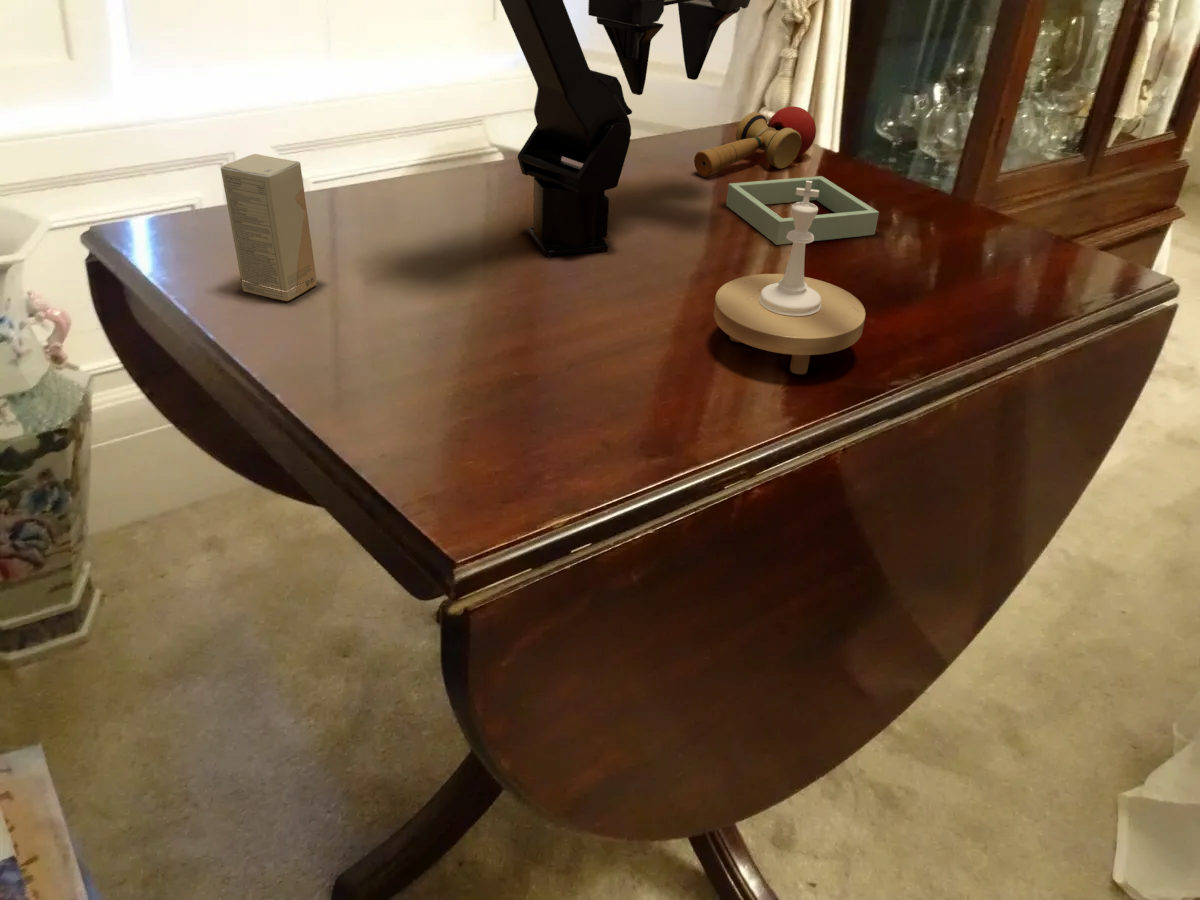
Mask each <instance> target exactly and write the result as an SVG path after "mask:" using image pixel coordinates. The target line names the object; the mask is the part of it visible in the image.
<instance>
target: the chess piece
mask: <svg viewBox="0 0 1200 900" xmlns="http://www.w3.org/2000/svg"><path fill="white" fill-rule="evenodd" d="M811 186H812V181H807V180H806V186H805V188H797V189H796V195H800V196H804V198H803V201H801V202H793V204H792V205H791V215H792V217H793V219H794V226H795V230H792V231H789V232H788V234H787V236H786V238H787V239H788V240H790V241H792V242H793V243H792V246H791V250H790V254H789V257H788V260H787V265H786V268H785V271H784V273H783V274H784V277H783V279H781V280H780V281H779V282H778V283H774V284H770V285H768V286H766V287H764V288H763V289H762V291H761V296H760V298H759V302H760V304H761V305H762V306H763V307H764V308H766V309H767V310H769V311H772V312H774V313H777V314H781V315H786V316H807V315H812V314H814V313H816V312H818V311H819V310H820V308H821V303H820V302H821V297H820V295H819V294H818V293H817V292H816V291H815V290H814V289H812V288H810V287H808V286H807V284H806V283H805V282H804V277H805V258H806V257H805V256H806V245H807V244H811V243H813V242H815V241H814V236H813V234H812V233H810V232H808V229H809V228H810V226H811V224H812V221H813V219H814V218H815V216H816V215H818V212H819V207H818V206H817V205H816V204H814V203H813V202H810V201H809V198H810V197H818V195H819V190H814V189H811Z"/></svg>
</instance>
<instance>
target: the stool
mask: <svg viewBox="0 0 1200 900" xmlns="http://www.w3.org/2000/svg"><path fill="white" fill-rule="evenodd" d="M784 274H785V273H761V274H751V275H745V276H741V277H737V278H734V279H732V280H729V281H728V282H726V283H724V284H722V286H720V287H719V289H718V290H717V291H716V293H715V296H714V297H715V298H714V306H713V319H714V322H715V324H716V325H717V326H718V328H719V329H720V330H722V331H723V333H725V334H726V335H727V336H729V339H730V341H731V342H734V343H739V344H740V343H742V344H744V345H747V346H750V347H752V348H756V349H759V350H762V351H766V352H770V353H776V354H782V355H791V358H790V363H789V371H790V372H791V373H792V374H795V375H805V374H807V373H808V370H809V364H810V359H811V356H818V355H827V354H832V353H837V352H840V351H842V350H845V349H848V348H849V347H852V346H854V345H855V344H856V343H857V342H858V341H859V340H860V339H861V337H862V334H863V330H864V326H865V321H866V316H867V314H866V309H865V307H864V304H863V303H862V302H861V301H860V300H859V299H858V298H857V297H856V296H855V295H853V294H852V293H851V292H849V291H848V290H845V289H843V288H842V287H839V286H837V285H835V284H832V283H829V282H827V281H823V280H820V279H816V278H812V277H808V276H804V282H805V283H806V284H807V286H808V287H810V288H812V289H814V290H815V291H816V292H817V293H818V294H819V295H820V297H821V302H820V303H821V308H820V310H819V311H818V312H816V313H814V314H812V315H807V316H786V315H781V314H777V313H774V312H772V311H769V310H767V309H766V308H764V307H763V306H762V305H761V304H760V302H759V298H760V296H761V291H762V289H763V288H764V287H766V286H768V285H770V284H774V283H778V282H779V281H780V280H781V279H783V277H784Z"/></svg>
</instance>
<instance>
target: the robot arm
mask: <svg viewBox="0 0 1200 900" xmlns="http://www.w3.org/2000/svg"><path fill="white" fill-rule="evenodd" d="M499 2H500V4H501V7H502V8H503V11H504V13H505V15H506V18H507V20H508V22H509V25H510V26H511V29H512V31H513V33H514V36H515V38H516V40H517V43H518V45H519V47H520V49H521V52H522V54H523V57H524V59H525V61H526V63H527V66H528V67H529V70H530V72H531V74H532V76H533V79H534V81H535V83H536V87H537V92H536V97H535V102H534V108H533V113H534V118H535V122H536V125H535V126H534V129H533V130H532V131H531V134H530V135H529V136H528V138H527V140H526V142H525V143H524V145H523V146H522V147H521V149H520V151H519V152H518V154H517V160H518V164H519V167H520V171H521V174H522V175H525V176H529V177H532V178H533V202H532V203H533V204H532V205H533V209H532V210H533V212H532V213H533V214H532V216H533V217H532V219H533V220H532V221H533V222H532V226H529V227H527V234H528V235H529V236H530V237H531V239H532V240H533V242H534V243H536V245H537V246H538V247H539V248H540V250H541V252H542V253H543V254H544V255H545V256H558V255H569V254H579V253H589V252H590V253H591V252H599V251H607V250H609V243H608V242H607V240H606V239H604V238H607V237H608V231H609V229H608V228H609V212H610V211H609V210H610V197H609V196H608V195H607V194H605V193H606V191H608V190H613V189H615V188H617V187H618V185H619V182H620V178H621V175H622V171H623V169H624V168H623V167H624V164H625V161H626V157H627V154H628V151H629V147H630V142H631V136H632V127H631V126H632V125H631V121H630V118H629V116H630V115H632V114H633V109H631V108H630V107H629V106H628V104H627V101H626V99H625V97H624V92H623V86H622V85H621V84H622V83H621V82H620V80H619V78H618V77H617V76H615V75H610V74H606V73H603V72H599V71H595V70H591V69H590V66H589V64H588V63H587V59H586V57H585V54H584V52H583V49H582V47H581V44H580V41H579V39H578V36H577V33H576V31H575V28H574V26H573V23H572V20H571V18H570V15H569V13H568V10H567V7H566V4H565V2H564V0H499ZM587 3H588V4H587V5H588V6H587V7H588V8H587V15H588V16H591V17H593V18H596V23H597V24H598V25H601V26H603V28H604V30H605V32H606V34H607V36H608V39H609V41H610V42H611V45H612V47H613V49H614V51H615V54H616V56H617V58H618V62H619V64H620V66H621V69H622V71H623V74H624V77H625V79H626V83H627V85H628V86H629V89H630V92H631V93H632V94H633V95H637V96H641V95H643V93H644V88H645V85H646V84H645V83H646V81H647V72H648V65H649V58H650V50H651V44H652V40H653V38H654V37H655V36H656V35H657V34H658V33H659V32H660V31H661V29H663V28H664V25H665V24H664V23H660V22H659V20H660V19H661V17H662V15H663V14H664V11H665V7H667V6H672V5H676V4H677V7H678V9H677V11H678V18H679V26H680V35H681V46H682V55H683V62H684V69H685V73H686V78H687V79H689V80H693V81H695V80H698V79H699V77H700V74H701V71H702V69H703V67H704V63H705V61H706V60H707V59H706V58H707V57H708V54H709V52H710V49H711V46H712V44H713V41H714V39H715V37H716V35H717V32H718V30H719V29H720V27H721V25H722V24H723V23H724V22H726V21H727V20H728V19H729V18H730V17H732V16H733V15H735V14H738V13H739V11H740V10H741V8H742V9H747V8H748V7H749V5H750V3H751V0H588V2H587ZM562 158H565V159H568V160H571V161H574V162H577V163H579V164H580V163H581V164H582V166H578V165H577V164H573V163H569V162H567V161H564V160H562Z"/></svg>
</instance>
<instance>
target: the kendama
mask: <svg viewBox="0 0 1200 900" xmlns="http://www.w3.org/2000/svg"><path fill="white" fill-rule="evenodd" d="M816 126H817V125H816V122H815V120H814V118H813V116H812V115H811V114H810V113H809V111H808V110H806V109H804V108H802V107H799V106H793V105H791V106H786V107H785V106H784V107H783V108H781V109H779V110H777V111H776V112H775V113H774V114H773V115H772V116H771V117H770V118H769V121H768V118H766V116H765V115H764V114H762V113H760V112H756V111H753V112H750V113H748V114H747V115H745V116H744V117H743V118H742V119H741V121H740V123H739V124H738V126H737V128H736V133H735V139H736V140H735V141H732V142H728V143H725V144H722V145H718V146H715V147H712V148H708V149H704V150H700V151H697V152H696V154H695V155H694V159H693V163H694V168H695V171H696V172H697V173H698V174H699V176H701V177H703V178H708V177H710V176H712V175H714V174H716V173H717V172H719V171H721V170H723V169H725V168H727V167H730V166H731V165H733V164H735V163H737V162H739V161H741V160H743V159H745V158H746V157H748V156H749V155H751V154H753V153H754V152H757V151H758V150H761V151H764V152H765V153H766V155H765V156H766V161H767V163H768V164H769V165H770V166H771V167H773V168H775V169H778V170H783V169H786V168H787V167H789V166H790V165H791V164H793V162H794V161H795V159H796V158H797V157H798V156H802V155H803V154H804V153H805V152H807V151H808V150H809V149H810V148H811V147H812V145H813V144H814V141H815V139H816V134H817V127H816Z"/></svg>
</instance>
